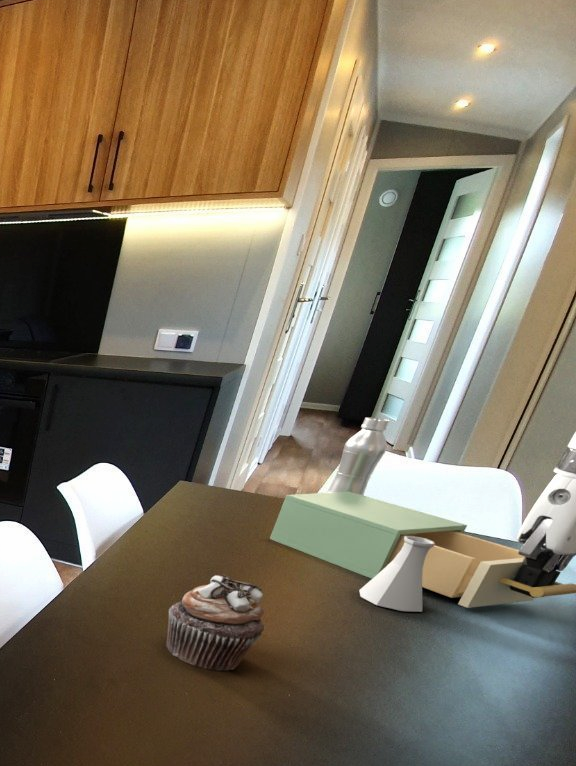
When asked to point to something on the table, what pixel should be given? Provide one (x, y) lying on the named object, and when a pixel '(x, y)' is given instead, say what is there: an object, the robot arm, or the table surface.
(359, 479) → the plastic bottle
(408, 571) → the flask
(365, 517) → the cabinet
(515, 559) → the drawer
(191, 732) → the table surface
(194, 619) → the cupcake
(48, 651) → the table surface
